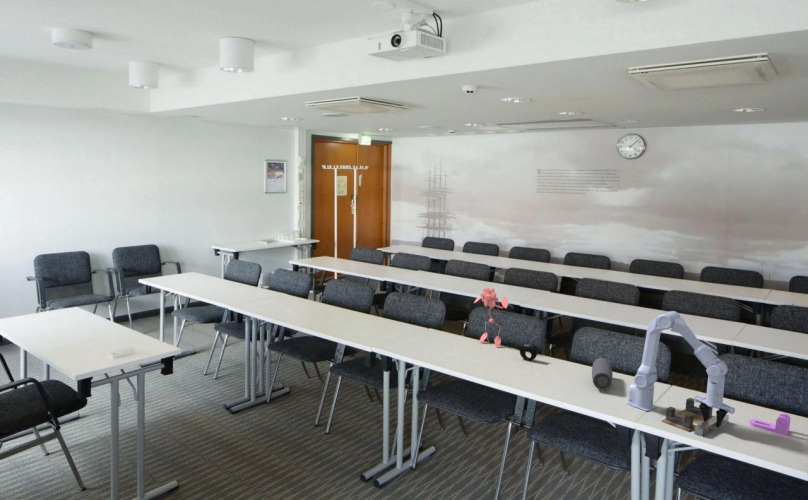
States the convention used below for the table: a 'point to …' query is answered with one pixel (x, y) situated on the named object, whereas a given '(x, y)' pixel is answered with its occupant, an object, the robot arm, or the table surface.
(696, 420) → the board
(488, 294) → the figurine
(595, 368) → the bluetooth speaker
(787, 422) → the bracket
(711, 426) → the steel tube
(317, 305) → the table surface
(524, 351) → the controller
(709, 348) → the robot arm
